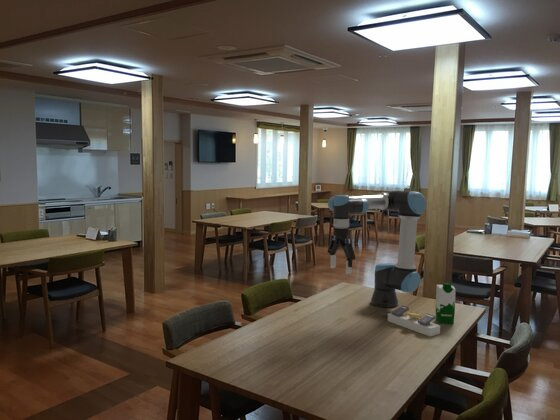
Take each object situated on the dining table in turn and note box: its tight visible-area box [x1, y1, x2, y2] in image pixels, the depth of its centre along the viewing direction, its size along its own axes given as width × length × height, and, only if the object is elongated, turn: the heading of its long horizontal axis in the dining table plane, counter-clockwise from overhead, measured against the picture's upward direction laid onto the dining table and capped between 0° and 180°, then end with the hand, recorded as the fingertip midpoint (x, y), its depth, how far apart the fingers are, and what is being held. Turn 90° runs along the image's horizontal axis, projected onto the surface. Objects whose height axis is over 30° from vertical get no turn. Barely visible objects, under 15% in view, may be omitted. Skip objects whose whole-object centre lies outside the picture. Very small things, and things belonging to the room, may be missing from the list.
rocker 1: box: [391, 305, 410, 316], centre depth 234 cm, size 8×4×1 cm, turn 124°
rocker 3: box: [418, 313, 437, 325], centre depth 220 cm, size 8×4×1 cm, turn 124°
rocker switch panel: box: [379, 311, 441, 338], centre depth 231 cm, size 7×34×5 cm, turn 34°
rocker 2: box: [404, 311, 423, 319], centre depth 227 cm, size 8×4×1 cm, turn 124°
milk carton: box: [435, 282, 456, 325], centre depth 236 cm, size 9×9×20 cm
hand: (340, 270), depth 227 cm, fingers open, 13 cm apart
